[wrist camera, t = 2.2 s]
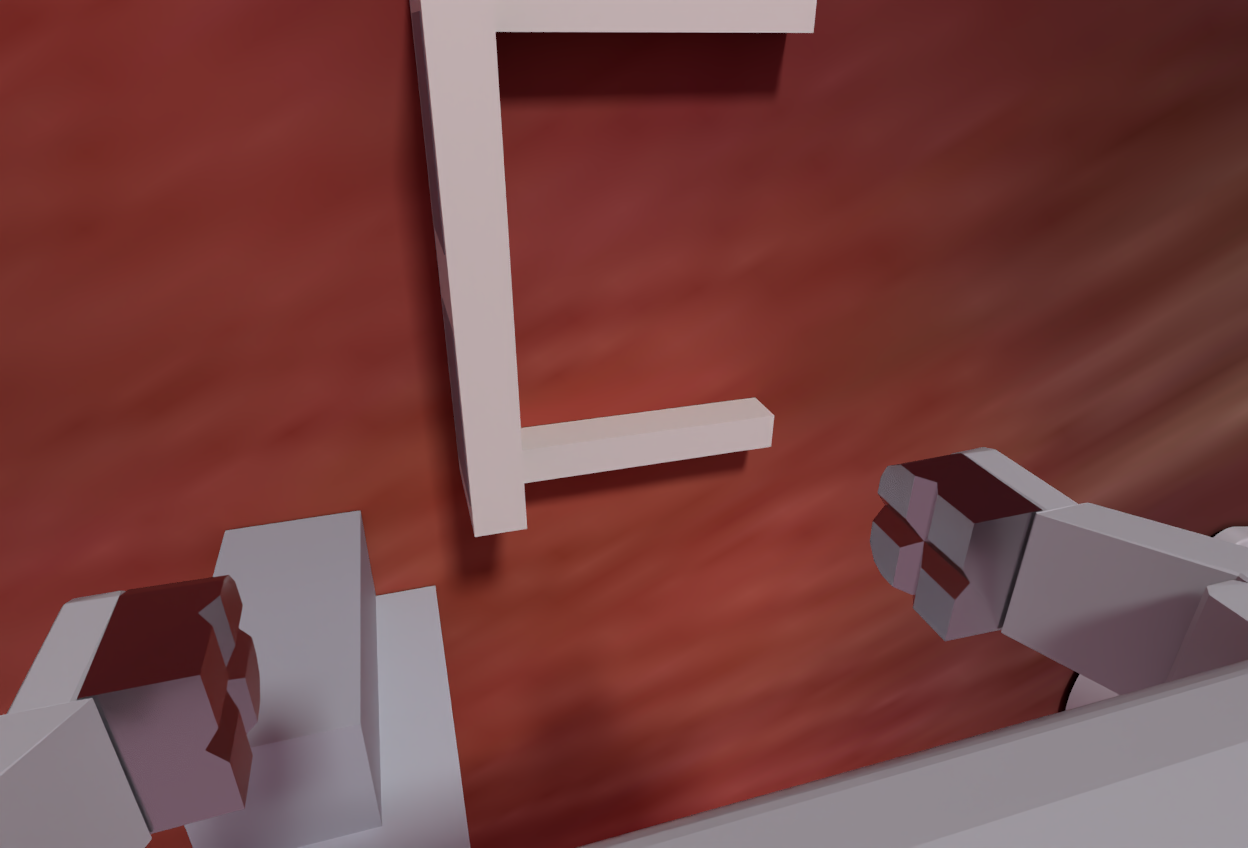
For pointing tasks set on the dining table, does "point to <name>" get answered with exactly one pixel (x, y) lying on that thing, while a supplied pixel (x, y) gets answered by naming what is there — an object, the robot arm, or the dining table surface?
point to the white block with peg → (339, 699)
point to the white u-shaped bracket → (480, 259)
